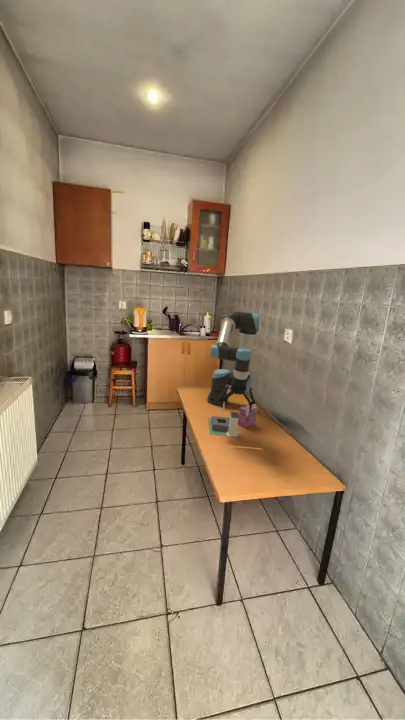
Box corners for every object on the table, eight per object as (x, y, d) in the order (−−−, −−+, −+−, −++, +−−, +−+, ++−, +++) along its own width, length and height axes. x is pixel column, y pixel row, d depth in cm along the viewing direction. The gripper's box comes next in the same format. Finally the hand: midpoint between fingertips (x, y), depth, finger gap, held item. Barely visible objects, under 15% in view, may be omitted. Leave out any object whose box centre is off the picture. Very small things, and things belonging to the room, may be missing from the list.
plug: (227, 431, 168) (230, 411, 165) (234, 431, 168) (237, 412, 165) (228, 434, 164) (231, 414, 161) (235, 435, 164) (238, 415, 161)
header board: (208, 418, 183) (208, 412, 182) (233, 421, 184) (234, 414, 183) (209, 435, 162) (210, 428, 161) (238, 438, 163) (239, 431, 162)
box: (244, 429, 175) (246, 410, 172) (236, 425, 179) (239, 407, 176) (255, 425, 182) (258, 407, 179) (248, 421, 186) (250, 404, 183)
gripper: (217, 377, 154) (212, 414, 160) (264, 382, 155) (258, 419, 161) (216, 373, 161) (211, 408, 167) (261, 377, 162) (255, 412, 168)
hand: (234, 413), depth 164 cm, fingers open, 13 cm apart
